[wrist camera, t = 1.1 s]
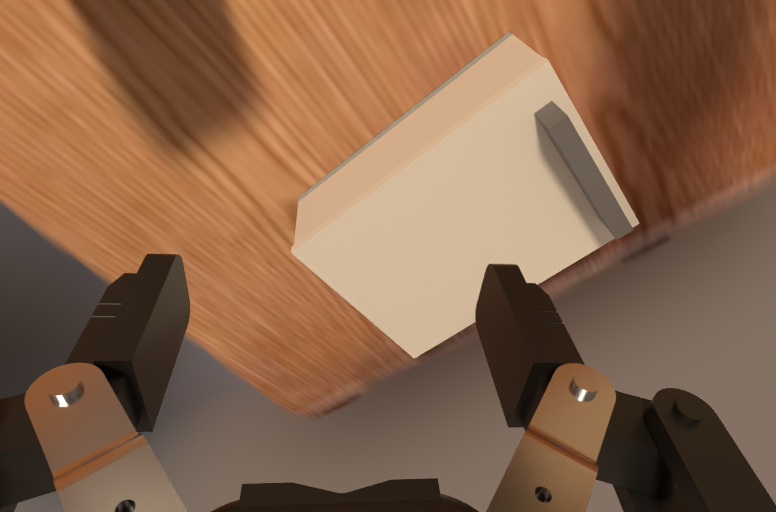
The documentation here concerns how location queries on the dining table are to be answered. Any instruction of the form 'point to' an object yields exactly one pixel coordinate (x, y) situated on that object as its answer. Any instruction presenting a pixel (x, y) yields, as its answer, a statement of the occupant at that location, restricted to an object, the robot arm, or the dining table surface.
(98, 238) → the dining table surface
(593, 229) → the lid
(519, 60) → the base
